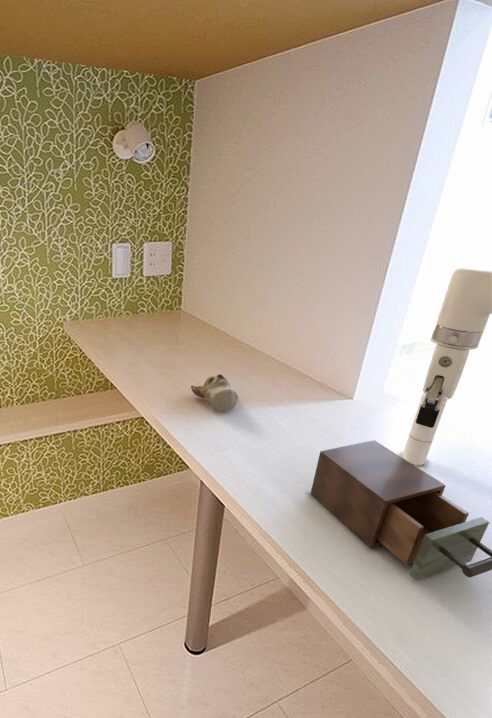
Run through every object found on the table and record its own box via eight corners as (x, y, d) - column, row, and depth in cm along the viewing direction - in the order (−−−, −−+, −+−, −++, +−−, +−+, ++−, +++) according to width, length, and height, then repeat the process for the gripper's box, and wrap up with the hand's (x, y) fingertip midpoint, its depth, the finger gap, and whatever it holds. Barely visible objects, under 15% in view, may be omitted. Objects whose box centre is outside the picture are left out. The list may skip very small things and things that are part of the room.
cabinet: (427, 531, 74) (445, 485, 70) (370, 548, 70) (385, 501, 66) (362, 481, 86) (374, 439, 82) (310, 493, 82) (320, 451, 78)
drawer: (504, 586, 63) (526, 545, 59) (447, 608, 59) (466, 566, 56) (398, 506, 78) (410, 470, 75) (347, 519, 75) (358, 483, 71)
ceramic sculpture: (210, 385, 105) (190, 366, 118) (208, 417, 108) (188, 395, 122) (251, 382, 107) (226, 364, 121) (247, 414, 111) (223, 392, 124)
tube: (424, 467, 91) (447, 403, 85) (401, 460, 93) (421, 397, 87) (425, 457, 94) (447, 395, 88) (402, 451, 96) (423, 390, 90)
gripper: (474, 351, 74) (440, 443, 82) (484, 330, 85) (454, 412, 93) (424, 341, 78) (396, 429, 86) (440, 322, 90) (414, 401, 98)
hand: (426, 419), depth 89 cm, fingers closed on tube, 4 cm apart
